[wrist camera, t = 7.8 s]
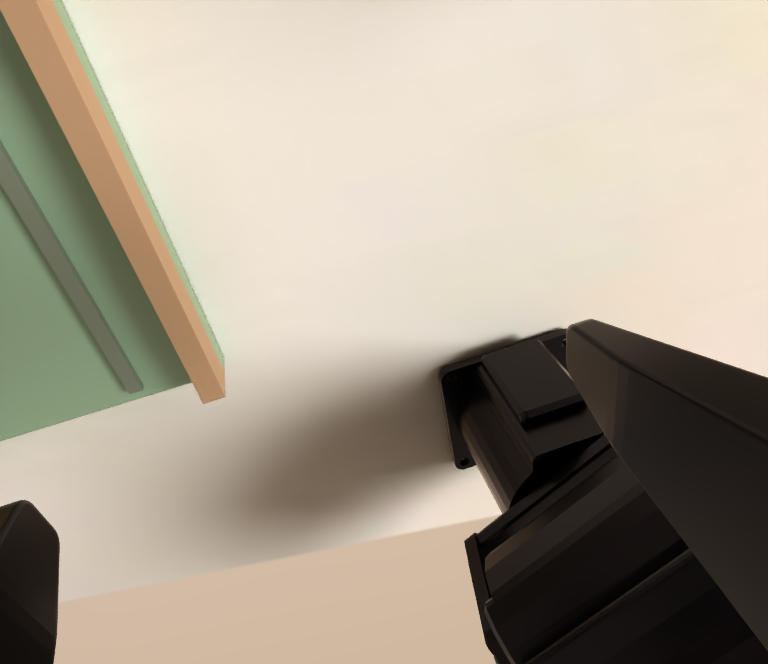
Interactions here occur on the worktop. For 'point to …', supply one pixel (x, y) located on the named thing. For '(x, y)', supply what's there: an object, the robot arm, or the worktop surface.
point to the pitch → (81, 245)
